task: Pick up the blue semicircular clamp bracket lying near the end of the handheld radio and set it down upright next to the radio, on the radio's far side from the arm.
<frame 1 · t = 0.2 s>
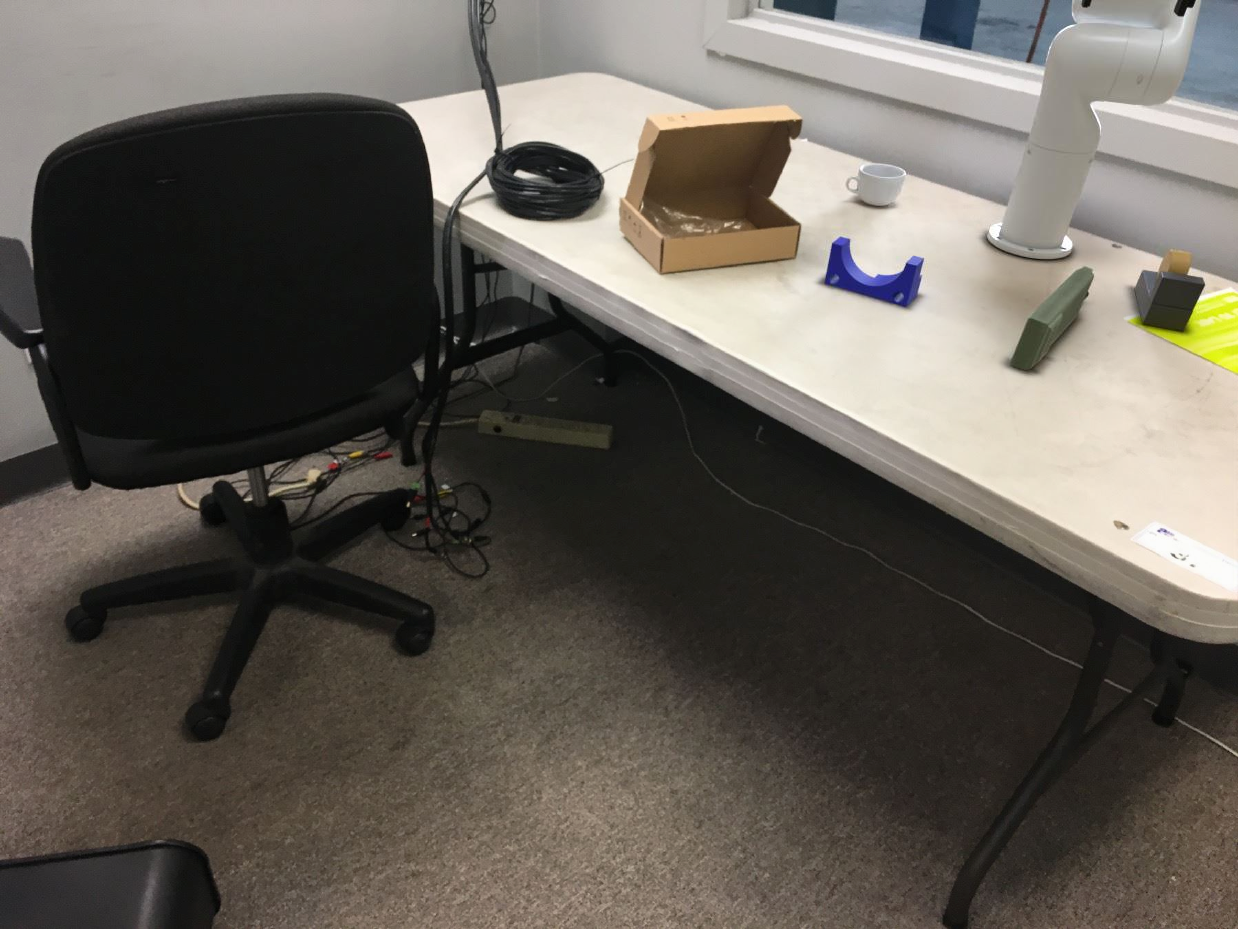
hand: (1131, 10, 97), 37 cm above the table, tool pointing down, fingers open, 9 cm apart
teacup: (869, 202, 150), on the table
tape dispenser: (1157, 309, 120), on the table
blue semicircular clamp bracket: (870, 290, 122), on the table
handheld radio: (1051, 334, 113), on the table
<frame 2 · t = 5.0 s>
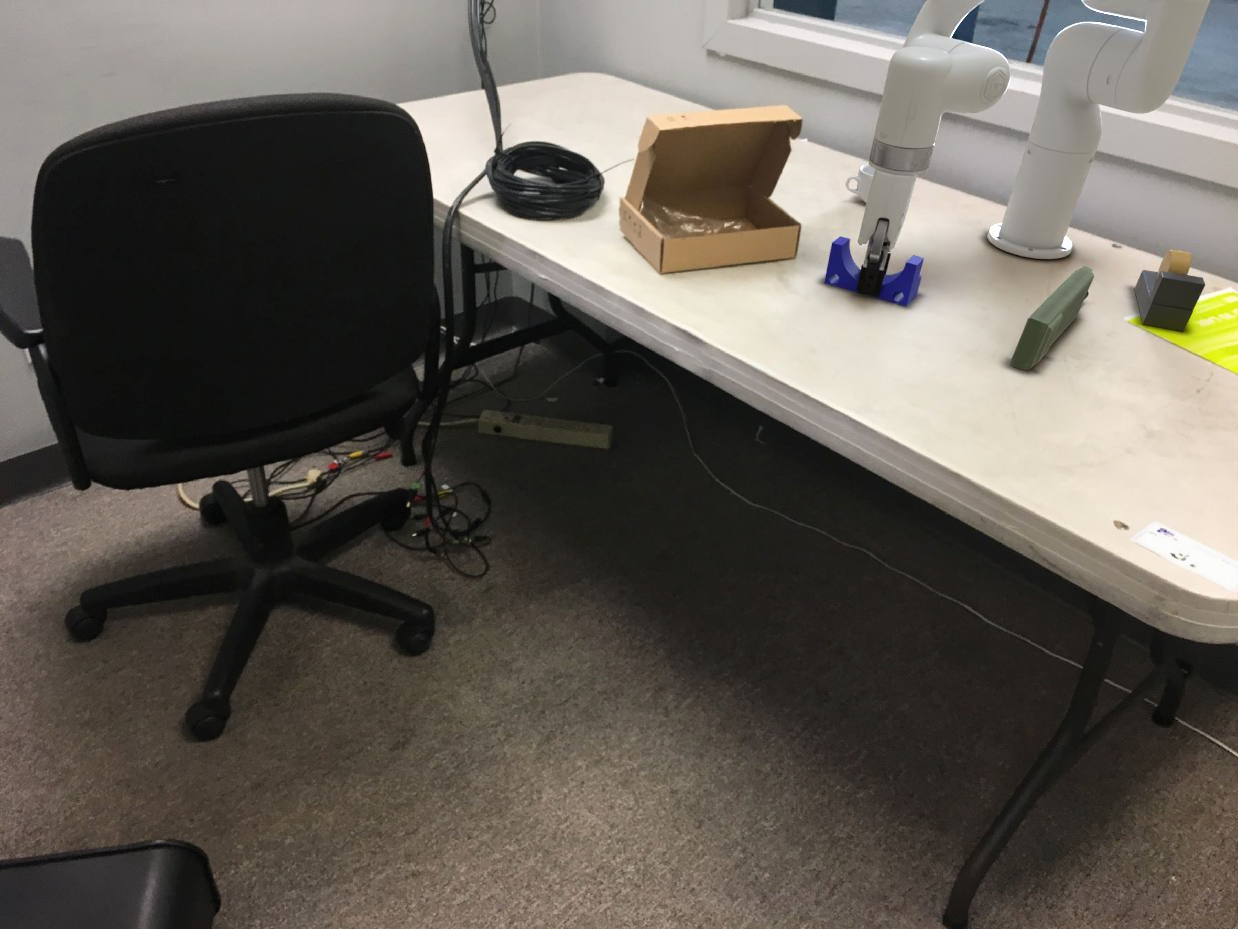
hand: (870, 284, 121), 1 cm above the table, tool pointing down, fingers closed on blue semicircular clamp bracket, 4 cm apart
blue semicircular clamp bracket: (869, 290, 122), on the table, touching gripper
everything else where it was.
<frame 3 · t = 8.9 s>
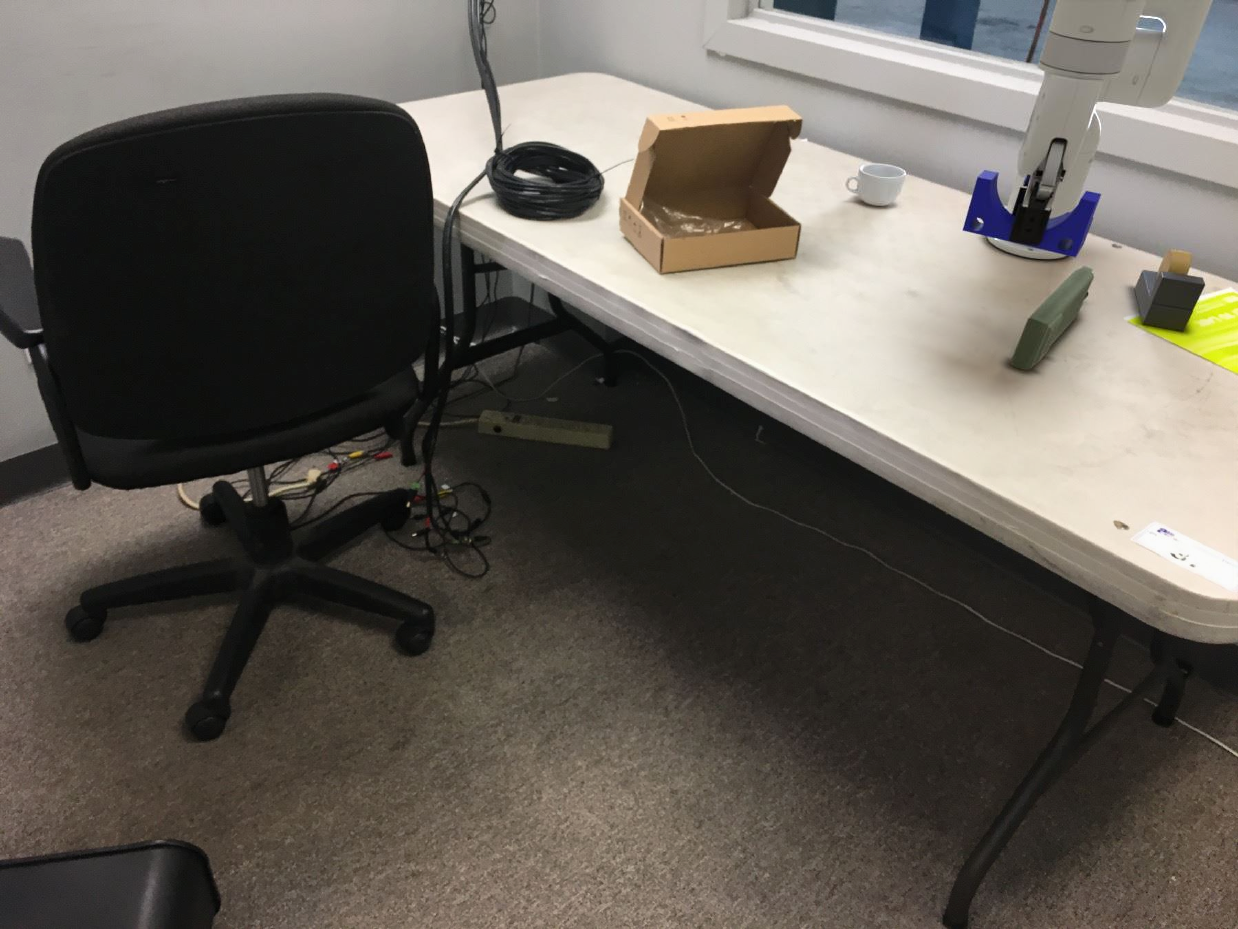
hand: (1024, 232, 95), 17 cm above the table, tool pointing down, fingers closed on blue semicircular clamp bracket, 4 cm apart
blue semicircular clamp bracket: (1021, 238, 96), point 16 cm above the table, touching gripper
everything else where it was.
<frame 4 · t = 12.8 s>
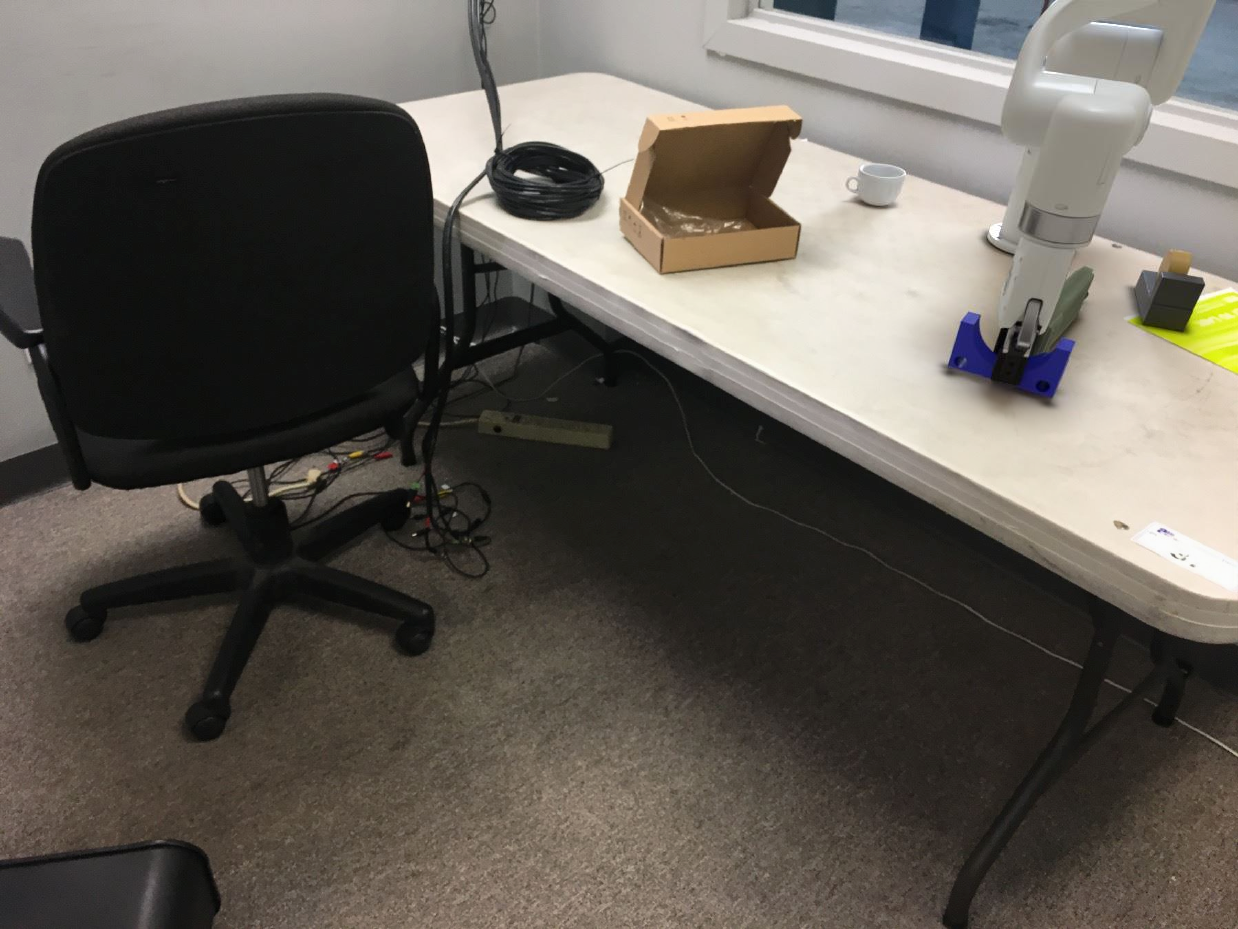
hand: (1005, 369, 102), 2 cm above the table, tool pointing down, fingers closed on blue semicircular clamp bracket, 4 cm apart
blue semicircular clamp bracket: (1002, 374, 103), point 1 cm above the table, touching gripper
handheld radio: (1051, 334, 113), on the table, touching gripper
everything else where it was.
when the fingers open (2 cm above the table, at t = 12.9 s): blue semicircular clamp bracket stays where it is, on the table.
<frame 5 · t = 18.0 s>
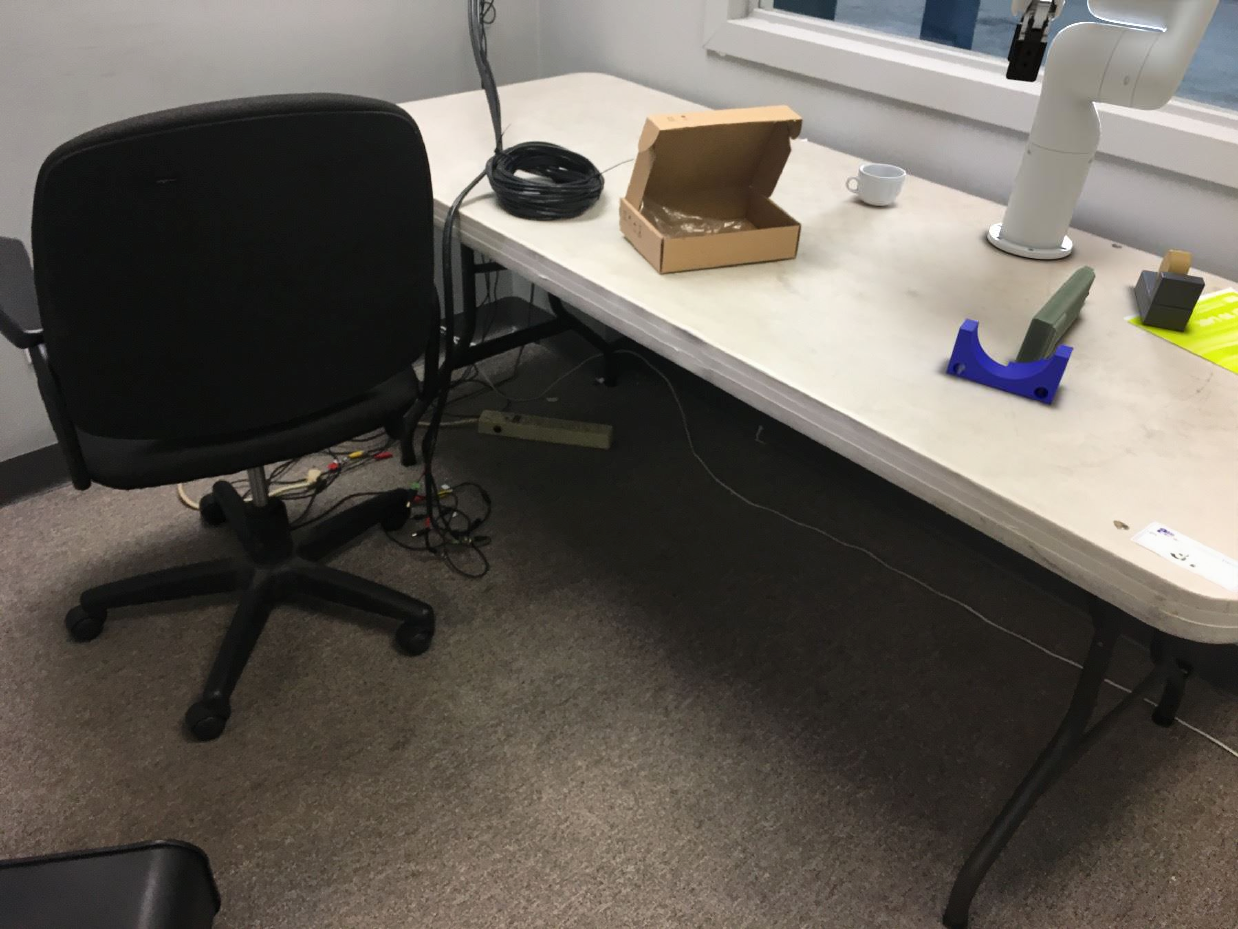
hand: (1020, 70, 99), 30 cm above the table, tool pointing down, fingers open, 9 cm apart
blue semicircular clamp bracket: (1001, 381, 103), on the table
handheld radio: (1054, 333, 113), on the table
everything else where it was.
at the end: blue semicircular clamp bracket inside the target area on the table beside the handheld radio (0.3 cm from its centre), on the table; blue semicircular clamp bracket tilted 0°; handheld radio moved 0.4 cm from its start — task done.
